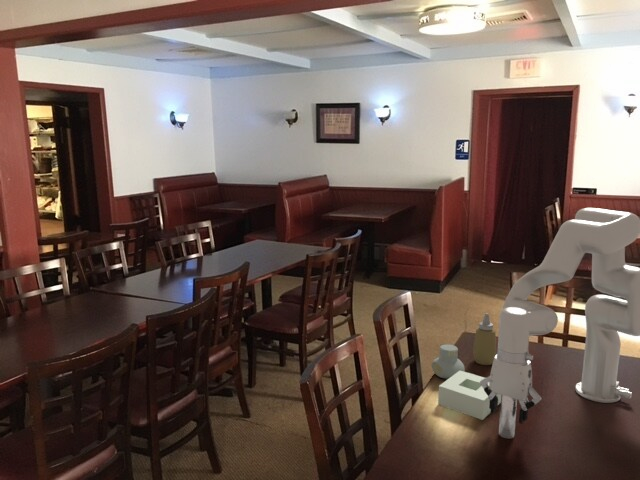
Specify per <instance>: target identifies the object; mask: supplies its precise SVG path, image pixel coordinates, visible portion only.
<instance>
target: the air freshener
mask: <svg viewBox="0 0 640 480" xmlns="http://www.w3.org/2000/svg"><path fill="white" fill-rule="evenodd" d="M458 351H459V349H458V347H457V346H456V345H453V344H442V345H440V346H439V356H438V357H436V358H434V359H433V361H432V362H431V369H432V371H433V373H434V374H435V376H438V377H439V378H441V379H445V380H448V379H449V378H450V377H452V376H453V375H454V374H456V373H457V372H458V371H464V372H466V371H465V364H464V363H463V361H461V360H460V359H459V358H458V356H459V355H458V353H459V352H458Z"/></svg>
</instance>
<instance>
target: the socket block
mask: <svg viewBox="0 0 640 480" xmlns="http://www.w3.org/2000/svg"><path fill="white" fill-rule="evenodd" d="M485 378H486V377H484V376H480V375H477V374H474V373H471V372H466V371H458V372H457V373H456V374H454V375H453V376H452V377H450V378H449V379H445V381H443V382H442V383H440V384H439V386H438V400H437V401H438V402H437V405H438V406H442V407H444V408H447V409H450V410H454V411H456V412H459V413H461V414H464V415H467V416H470V417H473V418H476V419H477V420H478V419H479V420H481V421H483V420H484V419H486V417H487V416H489V415H490V411H491V409H489V405H490V399H489V398H488V395H487V394H486V392H485V391H484V388H483V387H482V386H481V384H480V381H481V380H482V379H485ZM488 386H489V382H488ZM496 396H497V397H498V406H499V405H501V394H497V395H496Z"/></svg>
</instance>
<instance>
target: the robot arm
mask: <svg viewBox="0 0 640 480" xmlns="http://www.w3.org/2000/svg"><path fill="white" fill-rule="evenodd" d="M574 216H575V217H574V219H569V220H566V221H565V222H563V223H562V224H561V225H560V227H559V229H558V231H557V233H556V235H555V237H554V239H553V241H552V243H551V245H550V247H549V249H548V250H547V253H546V255H545V256H544V259H543V260H542V262H541V264H539V266H537V267H535V268H533V269H532V270H529V271H528V272H526V273H525V274H524V275H523V276H521V277H520V278H518V279H517V280H516V282H515V283H513V285H512V287H511V288H510V290H509V293H508V294H507V295H506V298H505V300H504V303H503V305H502V309H501V310H500V313H499V321H498V333H497V334H498V337H497V349H496V356H495V358H494V361H493V363H492V364H491V365H492V366H491V369H490V375H488V376H487V377H484V378H485V379H482V380H481V381H480V384H481V386H482V387H483V388H484V391H485V392H486V394H487V395H488V398H489V399H490V405H489V409H491V411H490V414H491V415H494V414H495V413H496V412H497V411H498V408H499V407H498V406H499V405H498V397H497V396H496V395H497V394H501V395H505V396H508V397H511V398H514V399H517V401H518V403H519V405H520V407H521V408H520V409H519V418H518V423H519V424H520V425H523V423H524V422H525V421H527V420H528V415H529V409H531V408H533V407H534V406H535V405H537V404H539V402H540V401H542V399H543V398H542V397H541V395H540V394H539V393H538V392H537V391H536V390H535V389H534V387H533V371H532V370H533V369H532V363H531V361H533V360H534V355H533V354H530V350H529V342H530V337H531V336H543V335H545V336H546V335H547V334H550V333H551V332H553V331H554V330H555V329H556V327H557V325H558V321H559V319H558V314H557V313H556V312H555V310H554V309H552V308H550V307H548V306H546V305H542V304H539V303H535V302H532V301H529V300H527V299H528V298H529V297H530V296H531V294H533V292H535V291H536V290H538V289H540V288H543V287H545V286H549V285H554V284H560V283H564V282H568V281H570V280H572V278H574V276H575V273H576V271H578V270H577V269H578V267H579V265H580V263H581V261H582V259H583V257H585V254H591V256H592V258H591V284H592V288H594V290H596V291H598V292H600V293H603V294H595V295H591V296H590V297H589V298H587V301H586V303H585V307H584V314H585V323H586V330H585V331H586V332H585V334H586V335H585V344H584V354H583V361H582V362H583V363H582V364H583V365H582V372H581V373H582V374H581V381H580V382H578V383H576V384H575V388H574V389H575V392H576V394H578V395H580V396H581V397H583V398H584V399H587V400H590V401H593V402H598V403H605V404H612V403H613V404H614V403H616V402H618V401H620V400H621V398H622V397H624V398H626V399H630V400H631V399H632V394H633V393H632V392H631V391H630V389H629V388H626V387H621V386H620V385H619V384H620V381H617V380H618V371H619V370H618V369H619V362H620V353H621V339H620V335H619V333H622V334H626V335H629V336H633V337H640V267H639V266H634V265H629V264H627V263H626V260H625V259H626V253H625V252H626V247H627V246H629V245H630V244H632V243H634V242H635V241H636V240H637V239H638V238H639V235H640V217H639V216H638V215H637V214H635V213H633V212H629V211H622V210H611V209H605V208H599V207H597V208H596V207H585V208H580V209H579V210H578V211H577V212H576V214H575V215H574ZM618 332H619V333H618ZM488 382H489V386H488ZM528 396H531V397H532V399H531V400H529V398H528ZM490 414H489V415H490Z"/></svg>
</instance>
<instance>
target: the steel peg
mask: <svg viewBox="0 0 640 480" xmlns="http://www.w3.org/2000/svg"><path fill="white" fill-rule="evenodd" d="M517 403H518V400H517V399H514V398H511V397H508V396H505V395H501V403H500V412H499V424H498V425H499V426H498V435H499V436H500V437H501V438H504V439H514V437H515V432H516V431H515V430H516V419H517V405H518V404H517Z"/></svg>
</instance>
